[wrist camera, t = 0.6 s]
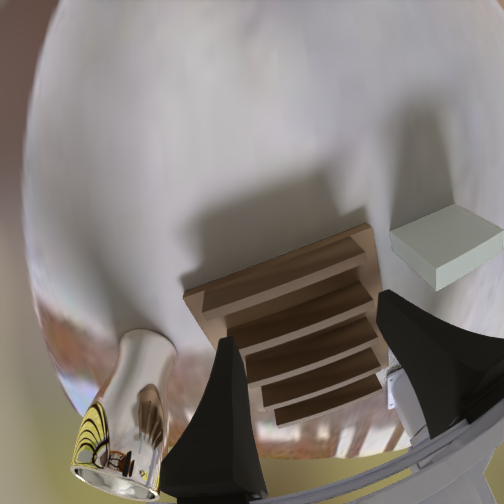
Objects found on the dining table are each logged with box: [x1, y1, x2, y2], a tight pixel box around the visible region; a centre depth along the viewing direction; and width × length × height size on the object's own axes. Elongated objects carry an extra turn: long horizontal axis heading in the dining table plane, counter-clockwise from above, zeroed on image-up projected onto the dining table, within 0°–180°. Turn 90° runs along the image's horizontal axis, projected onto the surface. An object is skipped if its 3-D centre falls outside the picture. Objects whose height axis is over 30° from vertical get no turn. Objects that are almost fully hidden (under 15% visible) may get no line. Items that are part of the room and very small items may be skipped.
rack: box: [183, 223, 389, 428], centre depth 24 cm, size 18×16×4 cm
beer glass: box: [70, 329, 178, 501], centre depth 19 cm, size 7×7×15 cm
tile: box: [389, 204, 504, 292], centre depth 19 cm, size 2×8×7 cm, turn 110°
